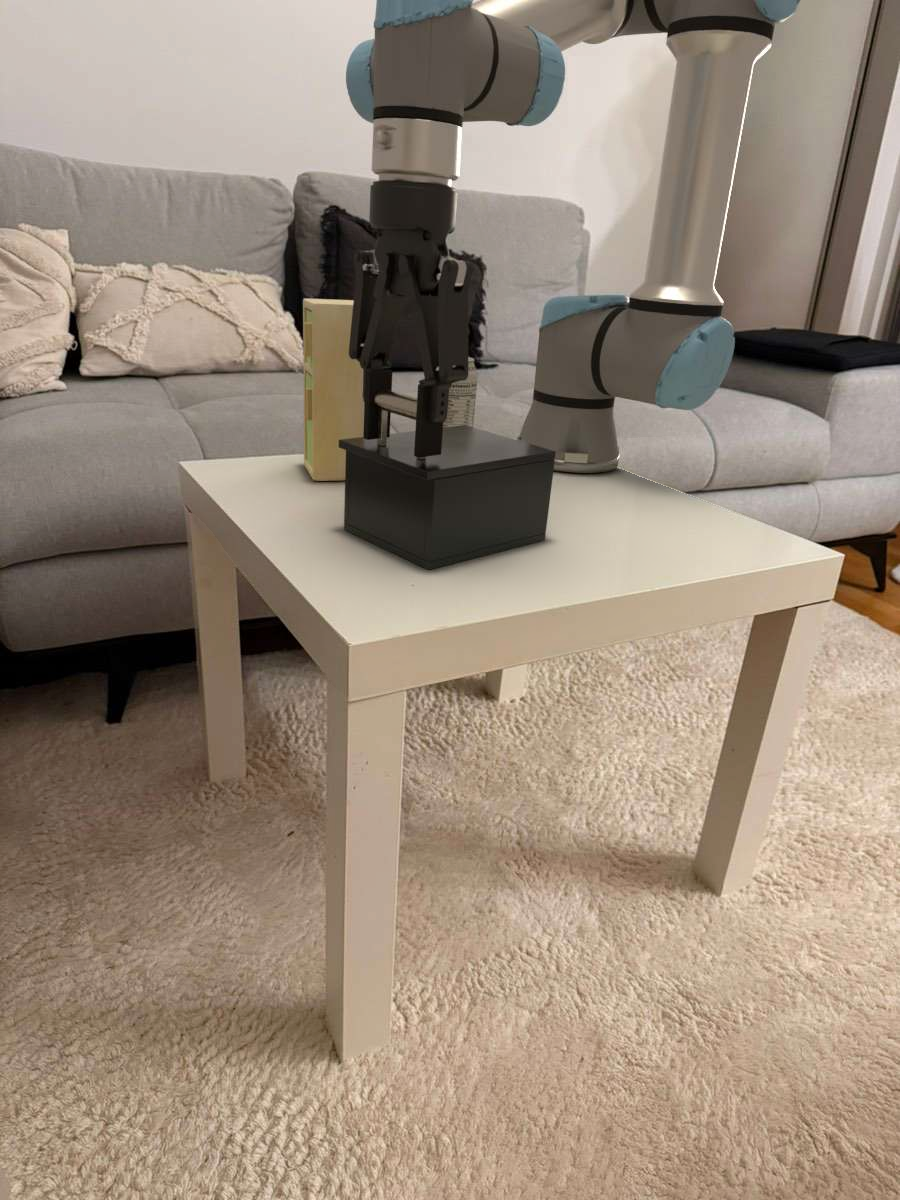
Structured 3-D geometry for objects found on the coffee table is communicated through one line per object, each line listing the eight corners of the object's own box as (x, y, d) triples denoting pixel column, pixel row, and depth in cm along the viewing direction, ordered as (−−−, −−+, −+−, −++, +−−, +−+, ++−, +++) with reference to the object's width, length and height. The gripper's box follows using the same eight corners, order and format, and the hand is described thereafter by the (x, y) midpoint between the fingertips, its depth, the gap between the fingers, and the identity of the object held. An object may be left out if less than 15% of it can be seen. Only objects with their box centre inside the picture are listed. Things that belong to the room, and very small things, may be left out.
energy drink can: (460, 466, 117) (469, 355, 112) (475, 478, 112) (485, 362, 106) (419, 467, 116) (426, 353, 110) (431, 479, 110) (439, 360, 104)
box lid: (427, 480, 76) (431, 409, 74) (338, 447, 85) (339, 383, 83) (555, 458, 87) (562, 397, 85) (464, 431, 96) (469, 375, 94)
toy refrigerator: (297, 465, 112) (297, 296, 104) (352, 464, 114) (356, 299, 106) (306, 481, 105) (307, 302, 97) (364, 481, 107) (370, 305, 99)
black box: (428, 570, 80) (434, 479, 77) (343, 529, 89) (345, 447, 86) (545, 540, 91) (555, 459, 87) (458, 506, 100) (464, 432, 96)
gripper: (311, 176, 77) (309, 428, 86) (462, 177, 64) (441, 475, 73) (377, 184, 82) (369, 422, 91) (529, 187, 69) (502, 465, 78)
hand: (401, 445), depth 82 cm, fingers closed on box lid, 7 cm apart
